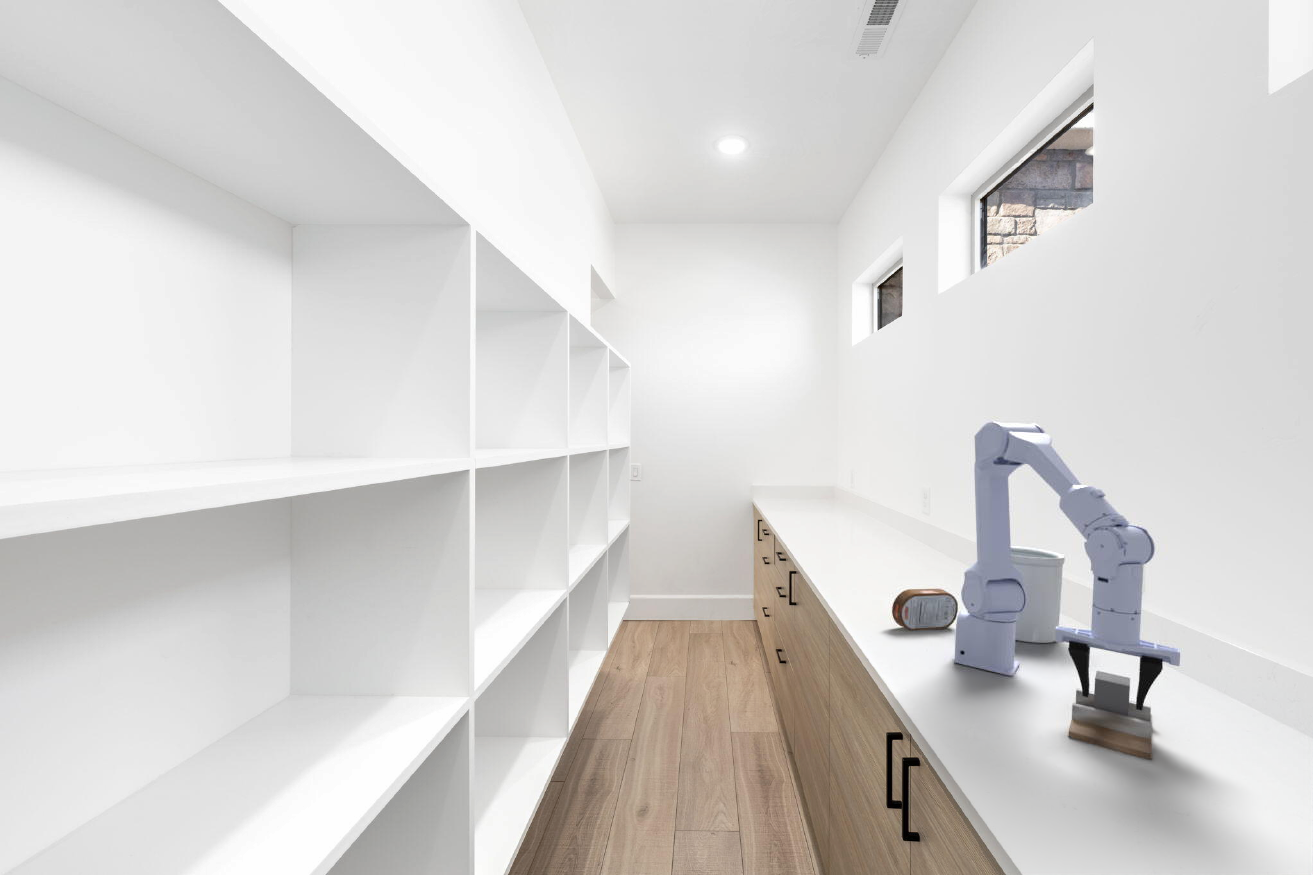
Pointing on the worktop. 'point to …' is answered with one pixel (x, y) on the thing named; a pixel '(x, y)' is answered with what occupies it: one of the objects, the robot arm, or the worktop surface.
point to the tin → (924, 609)
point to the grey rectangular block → (1112, 693)
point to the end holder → (1112, 726)
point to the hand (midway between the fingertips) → (1111, 701)
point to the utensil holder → (1039, 593)
